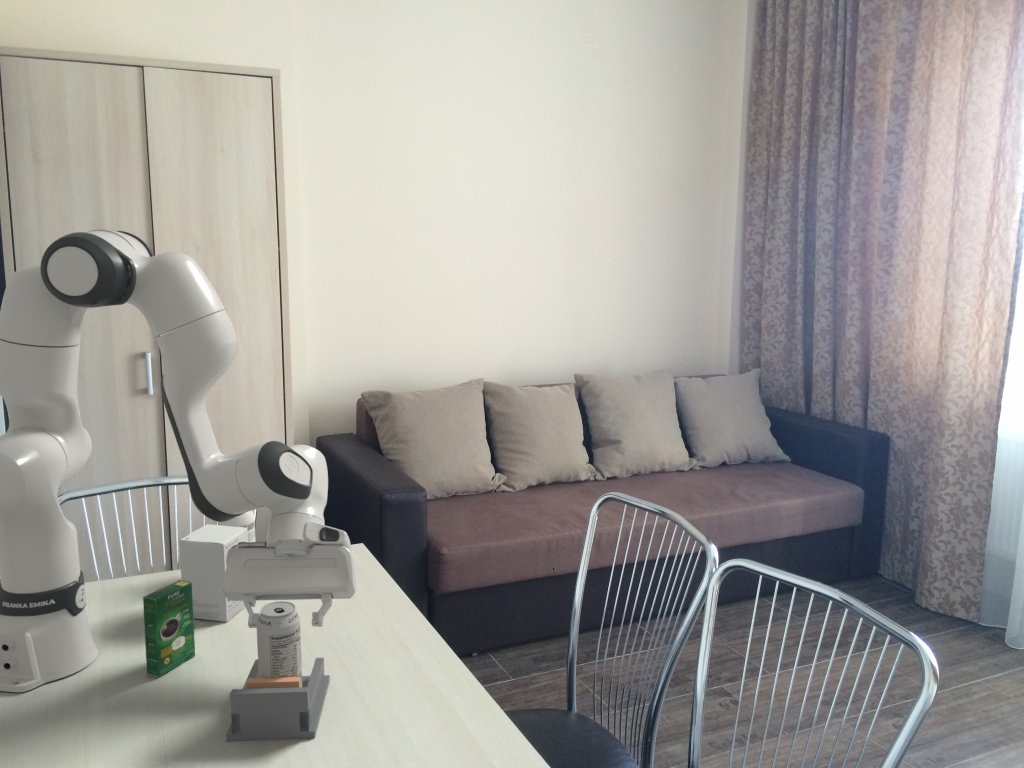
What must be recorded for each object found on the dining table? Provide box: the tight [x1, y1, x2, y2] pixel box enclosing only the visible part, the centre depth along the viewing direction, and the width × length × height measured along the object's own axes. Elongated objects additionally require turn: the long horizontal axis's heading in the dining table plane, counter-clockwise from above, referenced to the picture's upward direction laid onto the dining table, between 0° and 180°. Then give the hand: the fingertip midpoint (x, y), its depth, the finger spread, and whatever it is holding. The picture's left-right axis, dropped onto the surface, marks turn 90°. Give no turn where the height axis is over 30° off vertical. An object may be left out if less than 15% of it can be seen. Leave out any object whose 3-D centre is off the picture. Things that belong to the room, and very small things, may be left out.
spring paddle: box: [247, 677, 301, 689], centre depth 118 cm, size 7×1×6 cm, turn 94°
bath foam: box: [217, 510, 256, 542], centre depth 169 cm, size 7×7×20 cm
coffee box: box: [142, 579, 196, 678], centre depth 134 cm, size 8×3×13 cm, turn 156°
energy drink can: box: [256, 600, 303, 687], centre depth 121 cm, size 6×6×15 cm
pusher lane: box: [225, 657, 331, 742], centre depth 123 cm, size 12×15×7 cm
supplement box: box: [179, 523, 248, 623], centre depth 154 cm, size 9×9×15 cm
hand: (285, 626), depth 127 cm, fingers open, 8 cm apart
